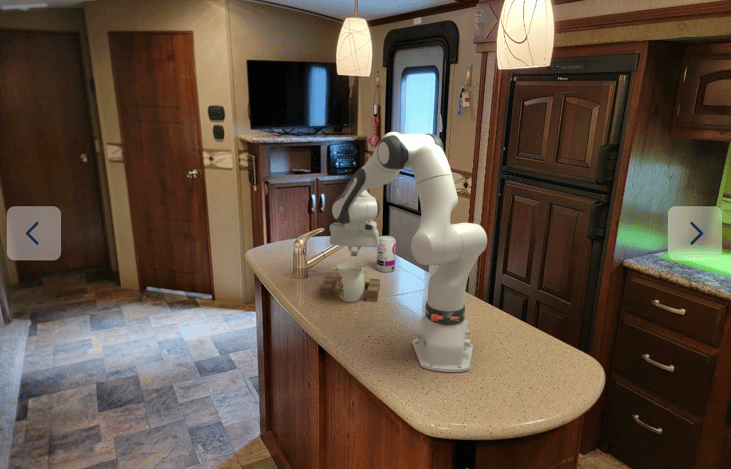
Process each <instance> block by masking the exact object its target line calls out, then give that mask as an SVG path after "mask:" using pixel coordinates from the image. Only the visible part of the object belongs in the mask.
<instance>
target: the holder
mask: <svg viewBox="0 0 731 469" xmlns="http://www.w3.org/2000/svg"><path fill="white" fill-rule="evenodd" d="M336 278H337V276H332V275H331V276H327V275H326V277H325V279H324V280H323V282H322V284H321V287H320V288H319V289H320V290H319V299H322V300H331V299H332V296H333V294H334V292H335V289H336V288H337V287H336ZM380 288H381V279H379V278H370V279H369V281H365V287H364V290H366V302H373V303H374V302H375V303H376V302H377V303H378V299H379V294H380V290H381V289H380Z"/></svg>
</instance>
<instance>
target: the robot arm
mask: <svg viewBox="0 0 731 469" xmlns="http://www.w3.org/2000/svg"><path fill="white" fill-rule="evenodd" d="M444 149H445V148H444V144H443V142H442V140H441V137H439V136H438V135H436V134H432V133H424V134H423V133H411V132H410V133H400V132H397V131H390V132H387V133H385V134H384V135H383V137H382V138H381V139H380V141H379V142H378V144H377V146H376V147H375V148H374V151H373V153H372V154H371V157H370V159H369V160H368V161H367V162H366V163H365V164H364V165H363V166H362V167H360V168H359V169H358V170H356V171H355V172H354V174H353V175H352V177H351V178H350V180H349V181H348V183H347V185H346V186H345V188H344V189H343V191H342V192H341V194H340V195H339V196H338V197H337V198H336V199H335V200H334V202H333V204H332V207H331V214H332V217H333V219H334V220H335V221H336V222H335V221H334V222H333V223H331V224H329V232H330V236H329V237H330V238H329V243H330V245H331V246H344V247H345V246H346V247H347V249H348V250H349V252H350V257H358V256H359V252H360V250H361V248H364V247H365V248H377V247H378V246H379V237H380V232H379V230H378V227H377V226H378V224H377V223H378V222H377V221H375V220H376V219H377V218H378V216H379V215H380V211H381V203H380V201H379V200H378V199H377V198H376V197H375V196H372V195H371V193H369V192H368V190H369V189H372V188H376V187H380V186H385V185H387V184H390V183H392V182H393V181H394V180H395V179H396V178H397V177H398V175H399V174H400V172H401V170H405V169H406V170H407V169H410V170H412V172H413V175H414V182H415V185H416V188H417V189H416V190H417V194H418V199H419V203H420V212H421V215H420V222H419V226H418V228H417V230H416V232H415V234H414V235H413V236H412V237H411V238H412V239H411V242H410V251H411V254H412V257H413V259H414V260H415V261H416V262H417V263H418V264H420V265H423V266H424V265H425V266H438V267H437V269H436V270H434V272H433V273H432V274H431V275H430V276H429V279H428V286H427V288H428V289H427V300H426V302H425V306H424V310H425V311H424V312H425V313H424V314H425V315H424V316H422V317H421V318H420V319H419V330H418V338H415V339H413V340H412V344H411V345H412V347H413V350H414V352H415V354H416V357H417V360H418V363H419V366H420V367H421V368H424V369H426V370H430V371H434V372H441V373H443V372H444V373H463V372H467V371H469V370H470V369H471V364H472V357H473V352H474V344H473V343H471V341H472V340H471V339H469V338H468V336H470V332H471V331H470V330H469V328H468V326H469V321H468V320H466V319H465V318H466V316H465V315H466V305H465V297H466V296H465V295H466V289H467V288H466V287H467V282H468V279H469V276H470V273H471V270H472V268H473V266H474V265H475V263H476V261H477V259H478V258H479V257H480V256H481V254H482V253H483V252H484V251H485V250H486V248H487V246H488V245H487V244H488V236H487V233H486V231H485V229H484V228H483V226H482V225H480V224H478V223H474V222H473V223H472V222H459V223H453V224H452V223H451V216H452V215H451V214H452V211H453V210H454V209H455V207H456V206H457V205H458V202H459V197H458V196H459V195H458V192H457V190H456V189H457V188H456V185H455V181H454V176H453V173H452V170H451V167H450V163H449V161H448V158H447V156H446V154H445V150H444ZM352 247H356V250H353V249H352Z"/></svg>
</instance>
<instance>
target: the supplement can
mask: <svg viewBox="0 0 731 469" xmlns="http://www.w3.org/2000/svg"><path fill="white" fill-rule="evenodd" d="M396 247H397V241H396V239H395V237H393V236H391V235H381V236H379V246H378V247H376V269H377V270H378V271H379V272H381V273H392V272H393V271H394V270H395V269H396V252H397V251H396Z"/></svg>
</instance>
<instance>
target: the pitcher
mask: <svg viewBox="0 0 731 469" xmlns="http://www.w3.org/2000/svg"><path fill="white" fill-rule="evenodd" d="M336 268H337V276H336V287H335V288H336V291H337V293H338V297H339V298H340V299H341V300H342V302H346V303H356V302H358V301H360V299H361V298H362V296H363V293H364V291H365V289H364V287H365V282H366V279H365V275H364V274H365V273H364V270H365V265H364V264H362V263H360V262H353V261H352V262H349V261H347V262H342V263H339V264H337V266H336Z"/></svg>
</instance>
